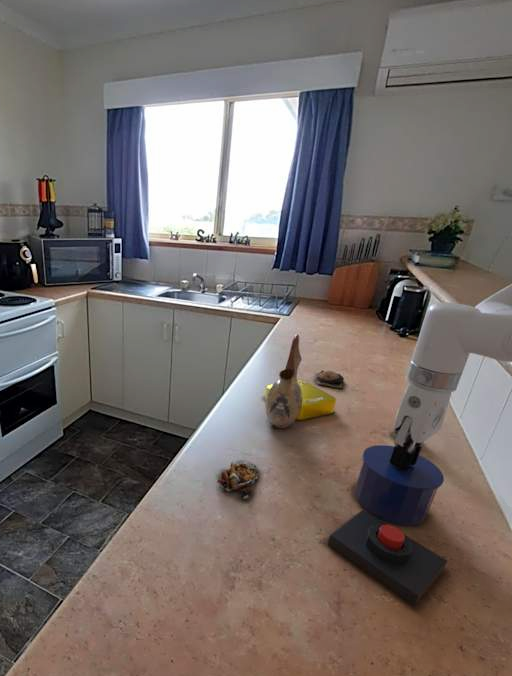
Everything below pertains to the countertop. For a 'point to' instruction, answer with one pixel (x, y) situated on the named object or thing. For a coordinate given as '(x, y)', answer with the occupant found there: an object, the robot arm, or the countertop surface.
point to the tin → (392, 499)
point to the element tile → (313, 401)
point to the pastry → (239, 477)
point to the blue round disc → (415, 477)
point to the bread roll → (330, 379)
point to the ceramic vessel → (286, 392)
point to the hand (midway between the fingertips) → (402, 463)
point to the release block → (388, 557)
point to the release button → (391, 537)
